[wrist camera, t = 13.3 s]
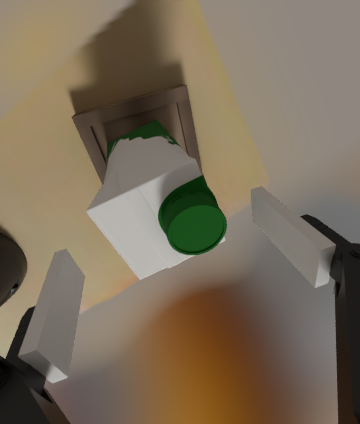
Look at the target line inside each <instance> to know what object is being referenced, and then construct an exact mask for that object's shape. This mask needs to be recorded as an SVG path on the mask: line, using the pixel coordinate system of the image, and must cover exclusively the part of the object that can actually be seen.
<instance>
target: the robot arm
mask: <svg viewBox="0 0 360 424" xmlns="http://www.w3.org/2000/svg"><path fill="white" fill-rule="evenodd" d="M251 199H252V216H253V222H254V223H255V224H256V225H257V226H258V227H259V228H260V229H261V230H262V231H263V232H264V233H265V234H266V236H267V237H268V238H269V239H270V240H271V241H272V242H273V243H274V244H275V245H276V246H277V247H278V249H279V250H280V251H281V252H282V253H283V254H284V255H285V256H286V257H287V258H288V259H289V260H290V262H291V263H292V264H293V265H294V266H295V267H296V268H297V269H298V270H299V271H300V272H301V273H302V275H304V277H305V278H306V279H307V280H308V281H309V282H310V283H311V284H312V285H313V286H314V287H315V288H316V287H319V286H321V285H324V284H327V283H328V281H329V276H331V277H332V278H333V279H334V280H335V285H334V290H333V294H335V317H336V318H335V319H336V352H337V354H336V355H337V391H338V424H360V244H355V243H350V242H349V241H347V240H346V239H345V238H343V237H342V236H340V235H339V234H338V233H336V232H335V231H333V230H332V229H331V228H329V227H328V226H326V225H325V224H323V223H322V222H321V221H320V220H318V219H317V218H314V217H312V216H309V215H307V214H306V215H303V216H298V215H297V214H296V213H295V212H293V211H292V210H291V209H289V208H288V207H287V206H286V205H284V204H283V203H282V202H280V201H279V200H278V199H277V198H275V197H274V196H273V195H272V194H270V193H269V192H268V191H266V190H265V189H264V188H263V187H257V188H254V189H251ZM26 273H27V261H26V258H25V256H24V254H23V252H22V251H21V249H20V248H19V247H18V246H17V245H16V244H15V243H14V242H13V241H12V240H10V239H9V238H7V237H6V236H4V235H3V234H1V233H0V307H1V306H2V305H3V304H4V303H5V302H6V301H7V300H8V299H9V298H10V297H11V296H12V295H13V294H14V293H15V292H16V291H17V290H18V289H19V287H20V286H21V284H22V282H23V280H24V278H25V275H26ZM84 278H85V276H84V274H83V273H82V271H81V270H80V268H79V267H78V265H77V264H76V263H75V261H74V260H73V258H72V257H71V255H70V254H69V252H68V251H67V249H64V250H61V251H58V252H55V253H54V256H53V259H52V262H51V264H50V267H49V270H48V273H47V276H46V279H45V281H44V284H43V287H42V290H41V293H40V295H39V298H38V301H37V304H36V306H34V307H31V308H29V309H28V310H27V311H26V313H25V314H24V315H23V317H22V318H21V321H20V324H19V326H18V329H17V331H16V334H15V337H14V339H13V341H12V344H11V346H10V349H9V351H8V354H7V356H6V359H4V358H3V357H1V356H0V424H70V422H69V421H68V419H67V418H66V417H65V415H64V414H63V412H62V411H61V409H60V408H59V406H58V405H57V404H56V402H55V401H54V399H53V398H52V396H51V395H50V393H49V392H48V391H47V390H46V389H45V388H44V384H45V380H46V379H48V380H49V381H50V382H51V383H55V382H57V381H60V380H63V379H65V378H68V376H69V369H70V363H71V357H72V351H73V345H74V339H75V333H76V327H77V320H78V315H79V309H80V303H81V297H82V290H83V284H84Z"/></svg>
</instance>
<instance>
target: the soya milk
mask: <svg viewBox="0 0 360 424" xmlns="http://www.w3.org/2000/svg"><path fill="white" fill-rule="evenodd" d="M86 212H87V214H88V215H89V216H90V218H91V219H92V220H93V221H94V223H95V224H96V225H97V226H98V228H99V229H100V230H101V231H102V233H103V234H104V235H105V236H106V238H107V239H108V240H109V242H110V243H111V244H112V245H113V247H114V248H115V249H116V250H117V252H118V253H119V254H120V255H121V257H122V258H123V259H124V260H125V262H126V263H127V264H128V266H129V267H130V268H131V269H132V271H133V272H134V273H135V274H136V276H137V277H138V278H139V279H140V280H141V279H143V278H145V277H147V276H149V275H151V274H154V273H156V272H158V271H160V270H162V269H164V268H166V267H168V268H171V267H173V266H175V265H177V264H179V263H181V262H182V261H184V260H186V259H188V258H190V257H192V256H194V255H199V254H203V253H205V252H208V251H210V250H211V249H213V248H214V247H215V246H217V245H218V244H219V243H221V242H223V241H225V240H226V238H225V232H226V228H227V221H226V218H225V216H224V214H223V213H222V211H221V210H220V208H219V207H218V204H217V201H216V198H215V196H214V195H213V193H212V191H211V190H210V189H209V188H208V186H207V183H206V181H205V178H204V175H201V172H200V169H199V167H198V164H197V161H196V159H194V158H192V157H189V156H188V155H187V153H186V152H185V151H184V150H183V149H182V147H181V146H180V145H179V144H178V143H177V141H176V140H175V139H174V138H173V137H172V136H171V134H170V133H169V132H168V131H167V130H166V129H165V128H164V127H163V126H162V125H161V124H160V123H159V122H158V121H157V120H154V121H152V122H150V123H148V124H146V125H144V126H141V127H139V128H137V129H135V130H133V131H131V132H129V133H127V134H125V135H123V136H121V137H119V138H117V139H115V140H113V141H111V142H109V143H107V166H106V172H105V178H104V184H103V186H102V187H101V189H100V190H99V192H98V193H97V195H96V196H95V198H94V200H93V201H92V203H91V204H90V206H89V207H88V209H87V210H86Z"/></svg>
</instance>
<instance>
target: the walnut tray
mask: <svg viewBox="0 0 360 424" xmlns="http://www.w3.org/2000/svg"><path fill="white" fill-rule="evenodd" d="M72 119H73V121H74V123H75V125H76V128H77V130H78V132H79V134H80V136H81V139H82V141H83V143H84V145H85V147H86V150H87V152H88V154H89V156H90V158H91V160H92V163H93V165H94V167H95V169H96V171H97V174H98V176H99V178H100V180H101V182H102V185H103V184H104V178H105V172H106V166H107V143H109V142H111V141H113V140H115V139H117V138H119V137H121V136H123V135H125V134H127V133H129V132H131V131H133V130H135V129H137V128H139V127H141V126H144V125H146V124H148V123H150V122H152V121H154V120H157V121H158V122H159V123H160V124H161V125H162V126H163V127H164V128H165V129H166V130H167V131H168V132H169V133H170V134H171V136H172V137H173V138H174V139H175V140H176V141H177V143H178V144H179V145H180V146H181V147H182V149H183V150H184V151H185V152H186V153H187V155H188V156H189V157H192V158H194V159H196V161H197V164H198V167H199V169H200V172H201V175H203V173H202V167H201V162H200V156H199V151H198V145H197V140H196V134H195V129H194V123H193V118H192V112H191V107H190V101H189V96H188V90H187V85H179V86H175V87H171V88H168V89H164V90H161V91H157V92H153V93H150V94H146V95H142V96H139V97H135V98H131V99H128V100H124V101H121V102H117V103H113V104H110V105H106V106H102V107H99V108H95V109H92V110H88V111H84V112H81V113H77V114H75V115H74V116H72Z"/></svg>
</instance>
